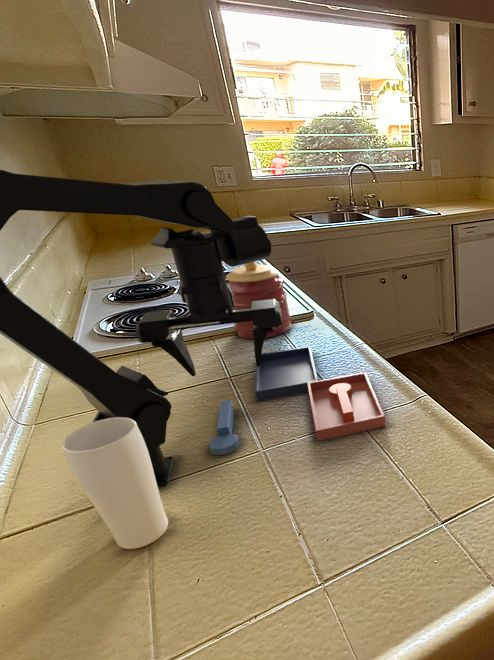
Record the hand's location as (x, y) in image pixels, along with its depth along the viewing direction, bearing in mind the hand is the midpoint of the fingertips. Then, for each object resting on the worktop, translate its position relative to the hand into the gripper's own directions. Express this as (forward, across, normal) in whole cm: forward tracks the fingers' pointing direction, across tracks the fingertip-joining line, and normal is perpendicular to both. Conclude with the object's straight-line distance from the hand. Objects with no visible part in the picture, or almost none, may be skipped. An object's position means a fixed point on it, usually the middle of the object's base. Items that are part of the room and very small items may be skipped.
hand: (227, 370), depth 73 cm
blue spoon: (+10, +2, +1) cm, 11 cm away
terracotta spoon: (+10, -17, +1) cm, 20 cm away
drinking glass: (+11, +10, +22) cm, 26 cm away
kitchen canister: (+10, -3, -44) cm, 45 cm away
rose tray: (+10, -17, +1) cm, 20 cm away
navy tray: (+10, -8, -16) cm, 20 cm away
